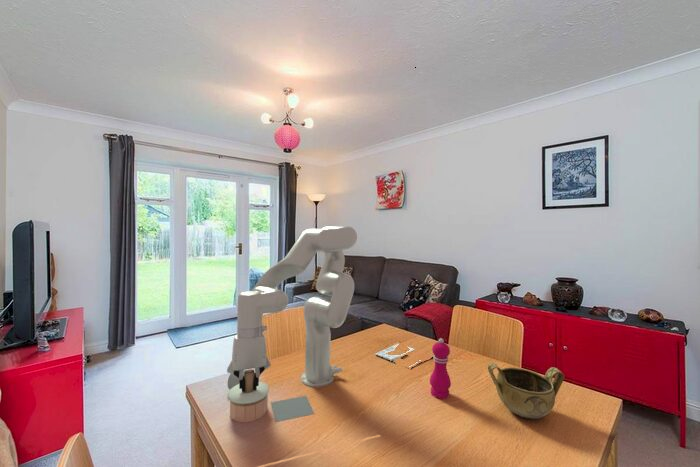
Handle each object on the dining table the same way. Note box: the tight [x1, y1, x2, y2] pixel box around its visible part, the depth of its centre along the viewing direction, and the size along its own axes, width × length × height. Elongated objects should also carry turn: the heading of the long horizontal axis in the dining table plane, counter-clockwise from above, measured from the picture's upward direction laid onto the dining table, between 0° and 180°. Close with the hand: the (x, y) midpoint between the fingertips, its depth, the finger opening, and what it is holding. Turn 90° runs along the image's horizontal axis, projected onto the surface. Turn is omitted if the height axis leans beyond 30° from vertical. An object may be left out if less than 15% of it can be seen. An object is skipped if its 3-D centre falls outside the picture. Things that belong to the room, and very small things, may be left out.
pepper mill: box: [429, 338, 452, 399], centre depth 110 cm, size 7×7×20 cm
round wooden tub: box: [229, 394, 268, 423], centre depth 97 cm, size 11×11×5 cm
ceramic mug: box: [226, 369, 247, 390], centre depth 111 cm, size 11×8×8 cm
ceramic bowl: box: [487, 362, 565, 420], centre depth 100 cm, size 22×17×15 cm
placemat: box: [270, 395, 315, 423], centre depth 99 cm, size 12×11×1 cm
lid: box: [228, 368, 270, 404], centre depth 97 cm, size 12×12×8 cm
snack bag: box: [374, 342, 421, 367], centre depth 141 cm, size 19×20×2 cm
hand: (249, 388), depth 97 cm, fingers closed on lid, 3 cm apart
